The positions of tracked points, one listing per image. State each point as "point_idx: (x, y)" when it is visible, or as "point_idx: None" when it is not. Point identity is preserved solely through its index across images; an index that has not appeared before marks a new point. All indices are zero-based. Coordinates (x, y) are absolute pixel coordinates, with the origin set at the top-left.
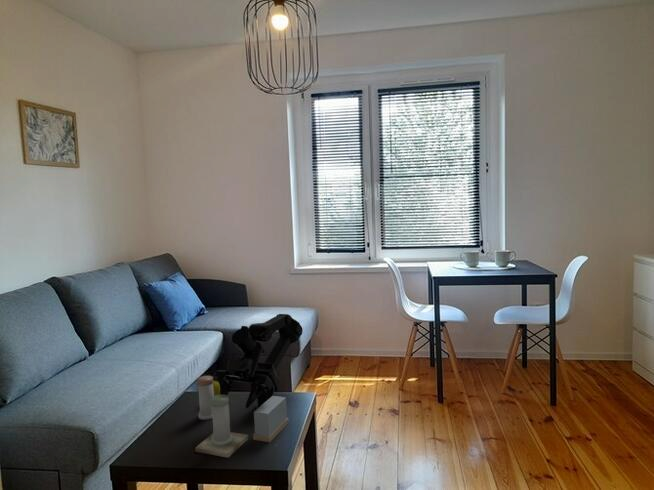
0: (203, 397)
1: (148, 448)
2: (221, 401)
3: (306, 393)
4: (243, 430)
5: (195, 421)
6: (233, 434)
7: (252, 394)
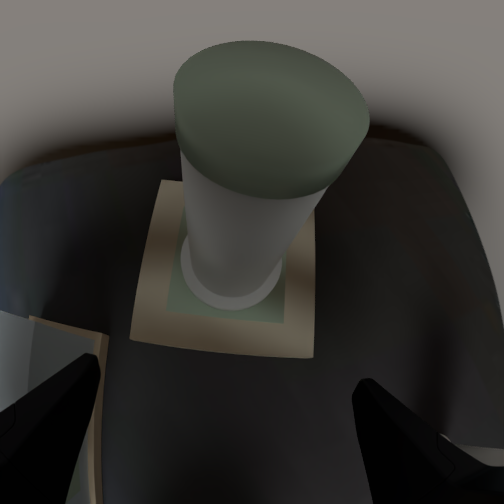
0: (487, 454)
1: (443, 212)
2: (217, 47)
3: None
4: (194, 414)
5: (438, 411)
6: (205, 330)
7: (2, 414)
